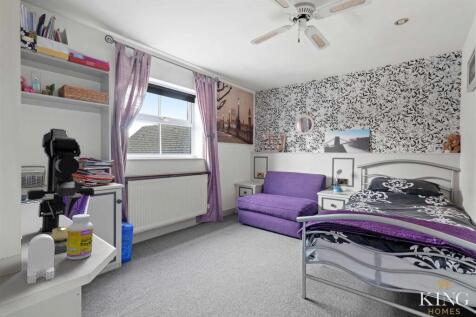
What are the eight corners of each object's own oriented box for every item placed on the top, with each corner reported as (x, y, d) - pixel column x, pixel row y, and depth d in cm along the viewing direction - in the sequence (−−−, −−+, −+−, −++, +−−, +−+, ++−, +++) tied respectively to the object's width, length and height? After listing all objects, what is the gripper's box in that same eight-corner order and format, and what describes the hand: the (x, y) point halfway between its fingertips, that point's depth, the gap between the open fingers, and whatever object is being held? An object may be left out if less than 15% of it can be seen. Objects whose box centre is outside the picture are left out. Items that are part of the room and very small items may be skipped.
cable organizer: (51, 265, 69) (53, 230, 69) (54, 277, 61) (56, 238, 62) (27, 270, 65) (28, 233, 66) (27, 284, 58) (29, 242, 58)
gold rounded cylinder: (50, 245, 84) (51, 228, 84) (66, 242, 87) (66, 226, 87) (53, 249, 81) (53, 231, 81) (69, 245, 84) (69, 228, 84)
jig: (40, 243, 85) (40, 238, 85) (70, 238, 92) (70, 233, 92) (47, 254, 76) (47, 248, 76) (80, 248, 82) (80, 242, 82)
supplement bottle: (79, 261, 71) (81, 218, 72) (60, 259, 73) (62, 217, 73) (96, 253, 78) (98, 214, 78) (79, 251, 79) (81, 212, 79)
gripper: (31, 174, 72) (28, 226, 72) (99, 173, 86) (97, 217, 85) (27, 172, 80) (25, 219, 79) (90, 172, 93) (88, 212, 93)
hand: (61, 217), depth 84 cm, fingers open, 3 cm apart
